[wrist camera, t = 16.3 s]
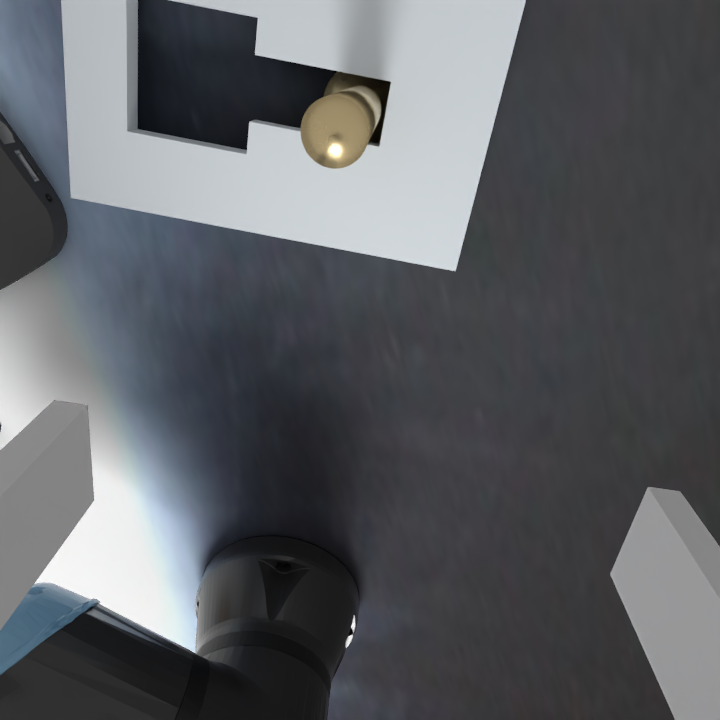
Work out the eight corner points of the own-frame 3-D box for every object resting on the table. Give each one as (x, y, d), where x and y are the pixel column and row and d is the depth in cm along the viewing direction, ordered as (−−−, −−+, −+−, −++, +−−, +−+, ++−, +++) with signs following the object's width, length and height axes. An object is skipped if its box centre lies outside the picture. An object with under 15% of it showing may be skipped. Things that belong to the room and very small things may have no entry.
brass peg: (355, 161, 38) (320, 228, 22) (311, 94, 37) (238, 114, 20) (417, 115, 37) (429, 151, 21) (374, 44, 35) (350, 22, 19)
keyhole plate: (104, 184, 40) (70, 197, 36) (97, -106, 33) (54, -130, 29) (450, 250, 40) (455, 271, 36) (518, -21, 33) (534, -34, 29)
